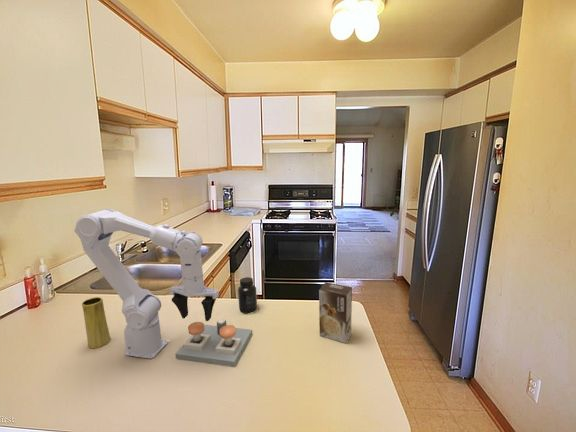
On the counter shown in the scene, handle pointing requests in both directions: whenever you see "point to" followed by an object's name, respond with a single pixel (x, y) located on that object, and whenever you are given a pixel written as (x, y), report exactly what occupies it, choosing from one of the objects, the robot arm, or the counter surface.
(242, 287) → the supplement bottle
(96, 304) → the vase
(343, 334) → the coffee box
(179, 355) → the mount board
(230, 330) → the knob
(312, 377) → the counter surface
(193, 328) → the knob
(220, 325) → the white domed button
